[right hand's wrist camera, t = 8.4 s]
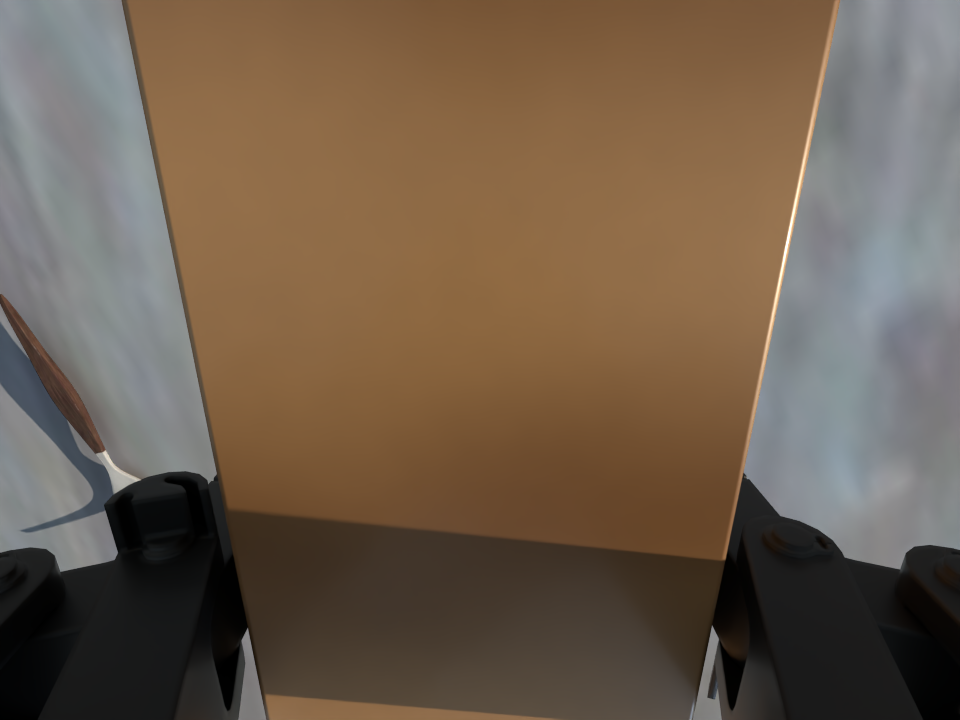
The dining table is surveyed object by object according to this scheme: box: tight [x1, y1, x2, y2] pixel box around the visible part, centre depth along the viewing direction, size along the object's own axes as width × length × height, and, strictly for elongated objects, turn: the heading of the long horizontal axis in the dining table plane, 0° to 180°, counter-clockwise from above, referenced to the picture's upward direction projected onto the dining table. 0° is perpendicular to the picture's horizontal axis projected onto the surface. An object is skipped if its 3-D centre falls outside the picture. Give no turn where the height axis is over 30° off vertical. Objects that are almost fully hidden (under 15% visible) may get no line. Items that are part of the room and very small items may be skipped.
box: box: [122, 0, 840, 720], centre depth 8 cm, size 21×6×8 cm, turn 0°
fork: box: [0, 294, 141, 495], centre depth 28 cm, size 3×16×2 cm, turn 17°
